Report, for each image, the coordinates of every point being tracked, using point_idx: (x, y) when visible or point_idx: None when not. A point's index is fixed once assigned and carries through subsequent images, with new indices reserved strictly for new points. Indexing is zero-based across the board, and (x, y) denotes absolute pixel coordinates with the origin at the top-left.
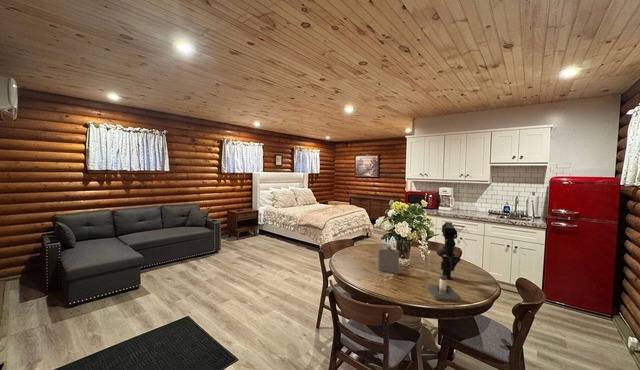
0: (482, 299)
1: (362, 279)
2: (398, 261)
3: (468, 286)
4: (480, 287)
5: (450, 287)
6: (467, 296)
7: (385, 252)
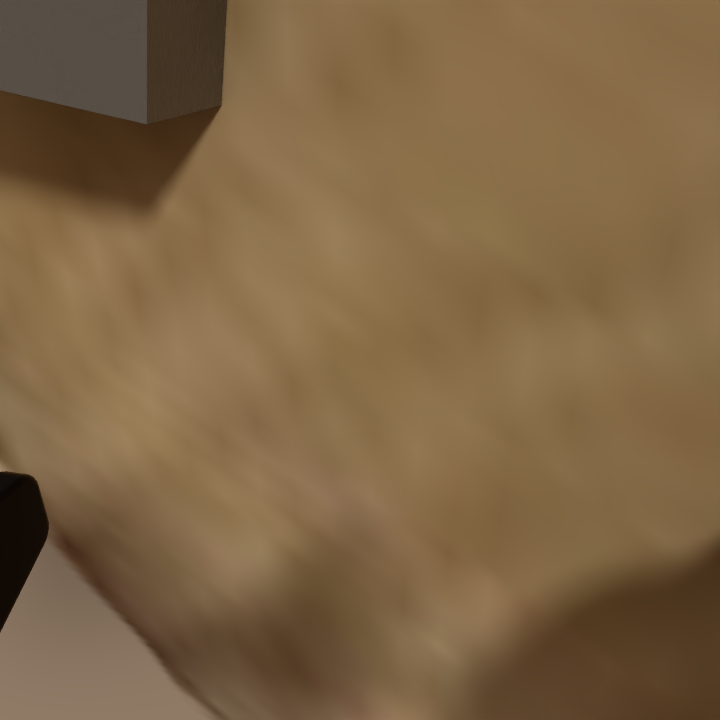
0: None
1: None
2: None
3: (431, 604)
4: (383, 716)
5: (41, 85)
6: (69, 336)
7: None
